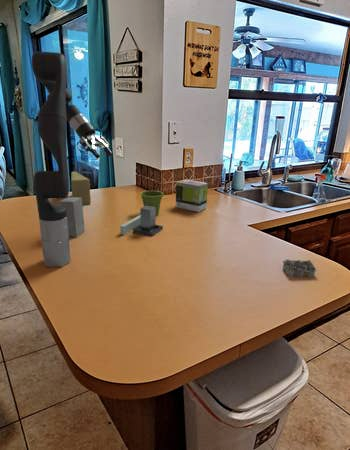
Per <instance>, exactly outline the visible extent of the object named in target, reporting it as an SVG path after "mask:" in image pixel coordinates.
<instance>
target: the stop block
mask: <svg viewBox="0 0 350 450" xmlns="http://www.w3.org/2000/svg"><path fill="white" fill-rule="evenodd" d="M155 214H156V207H151V206H144V205H143V206H141V208H140V214H139V215H140V230H145V231H149V232H152V231H154V230H155V229H156V228H155V225H156V215H155Z"/></svg>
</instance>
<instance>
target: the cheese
mask: <svg viewBox="0 0 350 450" xmlns="http://www.w3.org/2000/svg"><path fill="white" fill-rule="evenodd" d="M70 182H71V183H70V185H71V195H72V196H71V197H78V198H82V206H87V205H88V206H89V205H91V203H92V202H91V201H92V200H91V199H92V198H91V186H90V185H91V184H90V179H89V178H88V177H85V176H84V175H82V174H80V173H79V172H78V171H71V177H70Z"/></svg>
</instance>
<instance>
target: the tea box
mask: <svg viewBox="0 0 350 450" xmlns="http://www.w3.org/2000/svg"><path fill="white" fill-rule="evenodd" d="M175 183H176V184H175V185H176V186H175V208H179V209H183V210H188V211H192V212H196V213H199V212H202V211H203V210H205V209H207V205H208V203H207V202H208V187H209V183H208V182H205V181H204V182H203V181H198V180H197V181H196V180H192V179H183V180H179V181H176V182H175Z"/></svg>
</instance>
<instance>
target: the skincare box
mask: <svg viewBox="0 0 350 450" xmlns="http://www.w3.org/2000/svg"><path fill="white" fill-rule="evenodd" d="M59 205H60V206H63V207H65V208H66V211H67V222H68V235H69V237H71V238H74V237H75V238H78V237H79V236H80V235H81V234H84V232H85V221H84V210H83V205H82V198H78V197H72V196H67V197H66V198H62V200H60V201H59Z"/></svg>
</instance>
